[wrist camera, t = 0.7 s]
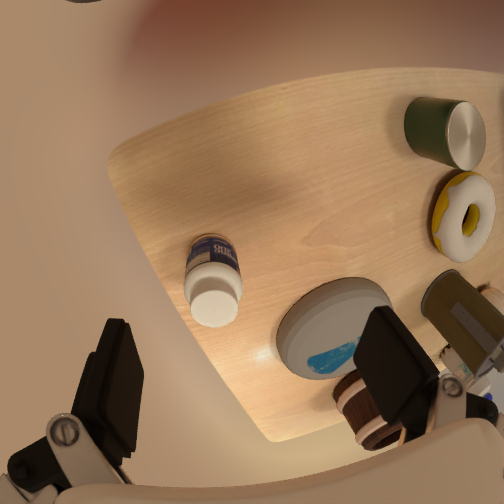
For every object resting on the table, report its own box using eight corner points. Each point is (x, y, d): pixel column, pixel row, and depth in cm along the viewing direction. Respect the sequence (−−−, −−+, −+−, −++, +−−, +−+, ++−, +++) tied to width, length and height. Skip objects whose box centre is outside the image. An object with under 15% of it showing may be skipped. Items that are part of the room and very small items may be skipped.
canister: (465, 282, 41) (528, 345, 24) (433, 322, 44) (488, 392, 27) (448, 258, 37) (527, 331, 20) (411, 306, 40) (477, 390, 23)
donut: (468, 247, 37) (486, 261, 33) (417, 257, 36) (437, 274, 31) (484, 171, 31) (505, 180, 26) (433, 164, 29) (459, 174, 25)
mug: (389, 385, 53) (416, 433, 40) (331, 409, 52) (352, 463, 39) (404, 330, 43) (446, 388, 30) (331, 359, 43) (364, 431, 30)
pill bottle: (245, 258, 31) (259, 313, 23) (207, 283, 32) (209, 342, 24) (216, 222, 29) (221, 270, 20) (177, 250, 30) (168, 305, 21)
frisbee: (399, 319, 41) (414, 338, 37) (315, 379, 45) (323, 401, 41) (359, 251, 33) (378, 271, 29) (249, 335, 37) (255, 362, 33)
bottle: (441, 346, 50) (484, 405, 33) (460, 334, 50) (503, 389, 33) (435, 362, 54) (473, 418, 36) (453, 351, 54) (492, 402, 36)
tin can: (399, 98, 25) (443, 100, 18) (441, 97, 25) (483, 101, 18) (407, 161, 29) (449, 176, 22) (447, 153, 29) (486, 166, 22)
